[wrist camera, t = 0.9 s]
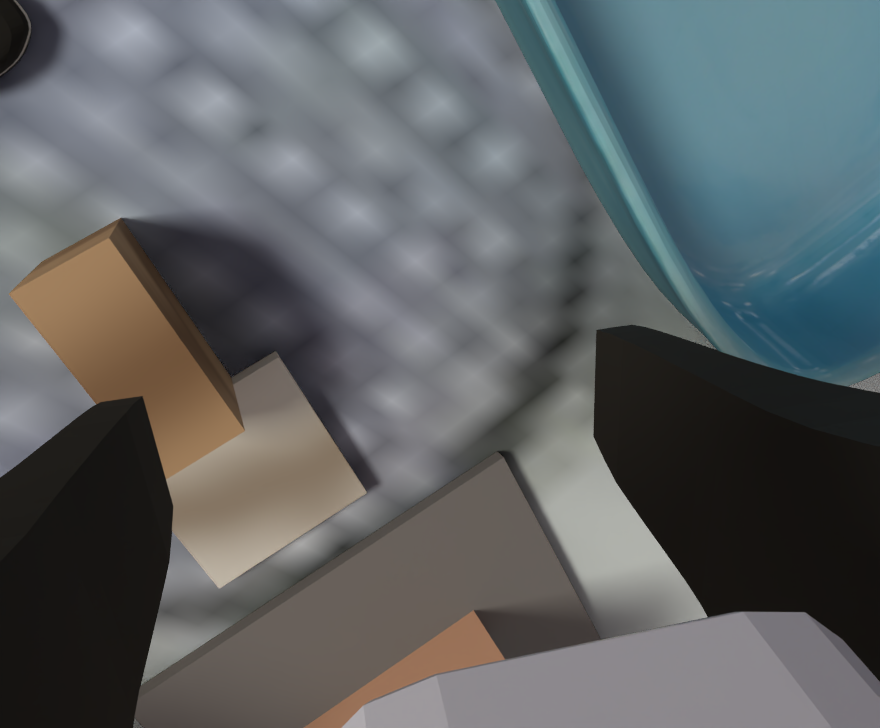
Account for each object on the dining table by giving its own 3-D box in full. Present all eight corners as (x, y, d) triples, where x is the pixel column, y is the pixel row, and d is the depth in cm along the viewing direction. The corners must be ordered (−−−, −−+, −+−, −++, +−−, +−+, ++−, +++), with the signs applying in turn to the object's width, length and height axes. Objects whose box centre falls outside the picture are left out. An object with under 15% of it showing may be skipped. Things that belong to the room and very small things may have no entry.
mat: (366, 945, 34) (370, 958, 33) (125, 696, 27) (124, 707, 26) (649, 733, 36) (656, 743, 36) (497, 451, 29) (503, 457, 28)
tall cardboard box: (-12, 291, 22) (-60, 331, 17) (171, 189, 23) (171, 202, 18) (217, 576, 27) (227, 666, 22) (361, 483, 27) (399, 551, 23)
